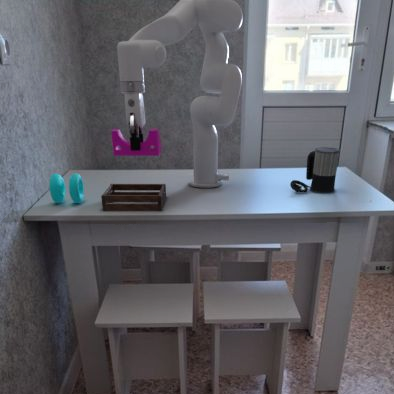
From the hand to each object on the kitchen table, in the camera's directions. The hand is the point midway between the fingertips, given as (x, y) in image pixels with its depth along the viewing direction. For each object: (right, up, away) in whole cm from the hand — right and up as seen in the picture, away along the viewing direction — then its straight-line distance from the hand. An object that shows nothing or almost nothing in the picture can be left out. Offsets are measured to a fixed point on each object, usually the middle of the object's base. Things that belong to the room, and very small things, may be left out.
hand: (137, 147), depth 163 cm
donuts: (-26, -15, +11) cm, 32 cm away
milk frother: (+64, -7, +24) cm, 68 cm away
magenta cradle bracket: (0, -2, +1) cm, 2 cm away
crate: (-2, -16, +10) cm, 19 cm away
